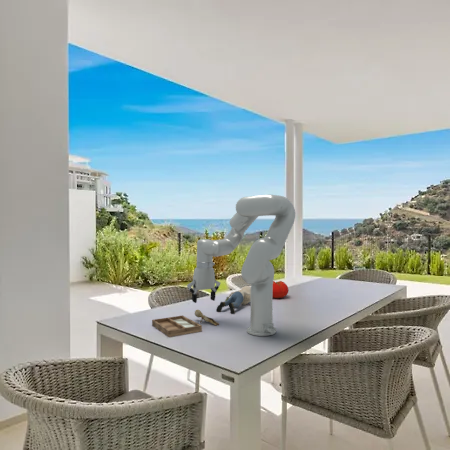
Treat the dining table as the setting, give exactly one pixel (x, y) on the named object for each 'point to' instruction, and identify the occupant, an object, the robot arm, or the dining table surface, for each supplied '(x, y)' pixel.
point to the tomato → (279, 289)
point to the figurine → (205, 318)
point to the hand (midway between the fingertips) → (203, 301)
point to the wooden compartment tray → (176, 326)
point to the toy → (236, 299)
